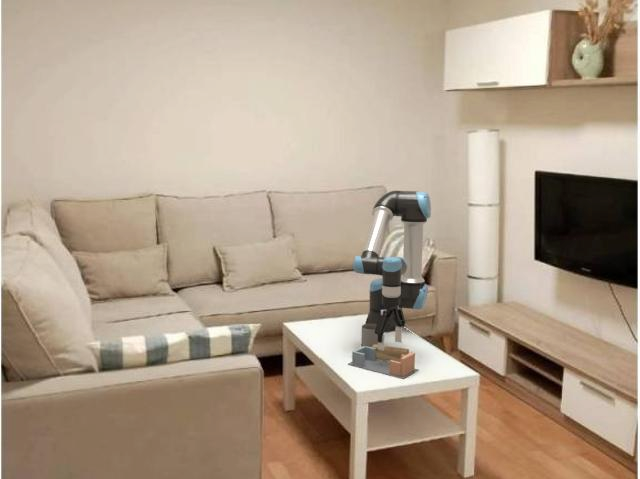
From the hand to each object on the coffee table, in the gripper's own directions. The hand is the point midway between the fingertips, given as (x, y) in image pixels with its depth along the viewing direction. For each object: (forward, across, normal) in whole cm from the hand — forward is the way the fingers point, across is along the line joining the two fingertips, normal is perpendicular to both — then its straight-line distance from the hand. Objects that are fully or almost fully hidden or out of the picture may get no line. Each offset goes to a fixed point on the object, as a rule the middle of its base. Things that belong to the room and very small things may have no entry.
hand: (389, 345), depth 304 cm
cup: (+6, -6, -13) cm, 16 cm away
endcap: (+6, +10, +12) cm, 16 cm away
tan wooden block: (+6, -1, 0) cm, 6 cm away
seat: (+6, +10, +3) cm, 12 cm away
